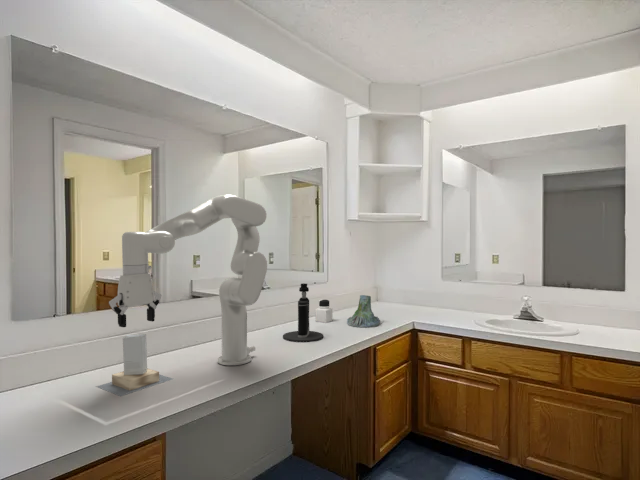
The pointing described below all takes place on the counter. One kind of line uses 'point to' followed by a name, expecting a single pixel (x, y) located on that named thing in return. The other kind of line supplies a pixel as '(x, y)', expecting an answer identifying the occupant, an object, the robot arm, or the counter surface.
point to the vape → (303, 322)
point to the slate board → (122, 391)
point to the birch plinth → (135, 379)
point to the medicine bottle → (324, 312)
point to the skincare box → (135, 354)
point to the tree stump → (363, 314)
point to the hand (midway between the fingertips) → (137, 323)
